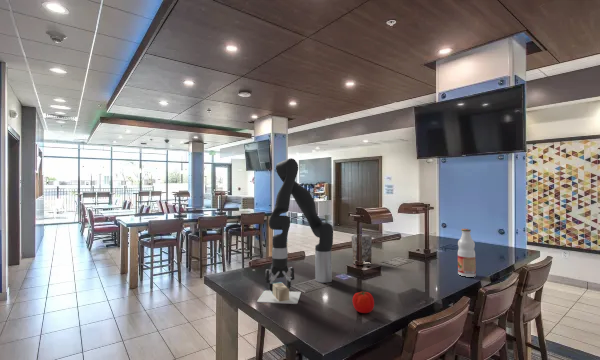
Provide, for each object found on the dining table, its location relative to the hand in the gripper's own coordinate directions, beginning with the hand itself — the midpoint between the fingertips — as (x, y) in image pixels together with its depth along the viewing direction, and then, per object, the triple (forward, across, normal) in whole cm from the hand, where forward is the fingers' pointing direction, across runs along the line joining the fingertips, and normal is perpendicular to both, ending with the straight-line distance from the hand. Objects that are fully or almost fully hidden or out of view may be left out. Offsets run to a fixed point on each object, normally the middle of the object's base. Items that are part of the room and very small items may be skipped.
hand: (279, 289), depth 149 cm
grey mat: (+4, 0, 0) cm, 4 cm away
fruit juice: (+4, -115, +6) cm, 115 cm away
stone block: (+4, -71, -41) cm, 82 cm away
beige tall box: (+1, 0, +6) cm, 6 cm away
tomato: (+4, -29, +29) cm, 41 cm away
